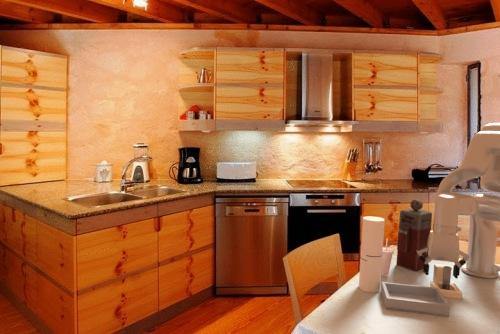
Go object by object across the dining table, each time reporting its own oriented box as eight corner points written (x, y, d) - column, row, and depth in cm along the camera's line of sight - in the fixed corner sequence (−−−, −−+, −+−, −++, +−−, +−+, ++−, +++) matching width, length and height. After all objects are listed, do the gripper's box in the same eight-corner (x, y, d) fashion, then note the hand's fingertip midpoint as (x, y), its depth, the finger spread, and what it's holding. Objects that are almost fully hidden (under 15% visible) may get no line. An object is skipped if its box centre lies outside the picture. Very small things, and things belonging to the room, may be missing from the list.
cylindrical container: (377, 294, 125) (382, 222, 123) (356, 288, 129) (360, 219, 126) (382, 287, 131) (386, 218, 129) (361, 282, 135) (366, 215, 133)
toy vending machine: (392, 265, 152) (397, 199, 150) (408, 260, 159) (412, 196, 156) (412, 273, 145) (417, 203, 142) (428, 267, 152) (433, 200, 149)
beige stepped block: (450, 283, 136) (451, 265, 135) (461, 298, 123) (463, 278, 123) (427, 281, 137) (428, 263, 137) (436, 295, 125) (437, 276, 124)
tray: (437, 297, 124) (438, 287, 123) (449, 316, 111) (449, 305, 111) (380, 291, 128) (381, 281, 127) (386, 308, 115) (386, 298, 115)
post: (448, 291, 129) (450, 266, 128) (450, 294, 127) (452, 269, 126) (440, 290, 130) (442, 265, 129) (442, 293, 127) (444, 268, 126)
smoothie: (393, 277, 140) (395, 241, 139) (375, 275, 141) (378, 240, 140) (390, 271, 146) (392, 236, 145) (373, 269, 148) (375, 235, 146)
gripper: (467, 229, 134) (463, 274, 135) (416, 224, 138) (412, 269, 139) (475, 234, 127) (470, 282, 128) (421, 229, 130) (417, 276, 132)
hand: (440, 275), depth 134 cm, fingers open, 9 cm apart
